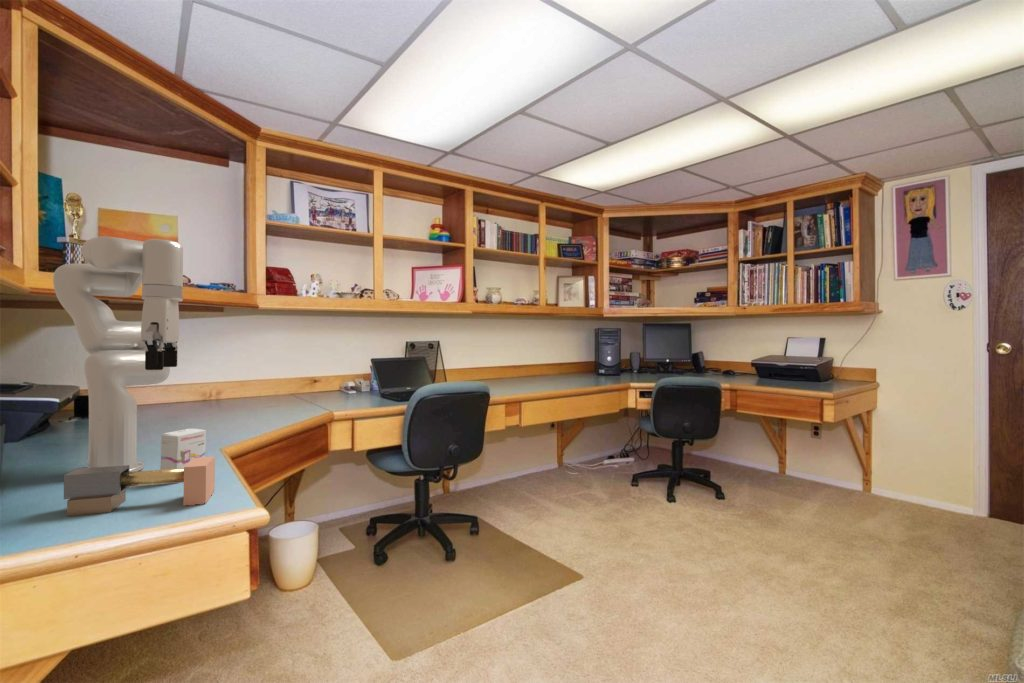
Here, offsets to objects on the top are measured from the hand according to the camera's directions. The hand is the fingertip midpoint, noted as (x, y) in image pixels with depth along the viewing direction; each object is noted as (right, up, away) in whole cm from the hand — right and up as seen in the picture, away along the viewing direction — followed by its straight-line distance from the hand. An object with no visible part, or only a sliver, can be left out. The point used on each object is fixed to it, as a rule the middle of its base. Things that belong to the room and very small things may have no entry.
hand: (161, 368), depth 108 cm
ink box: (-2, -28, +10) cm, 30 cm away
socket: (+12, -29, -5) cm, 31 cm away
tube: (+5, -24, -8) cm, 26 cm away
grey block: (-5, -28, -11) cm, 31 cm away
